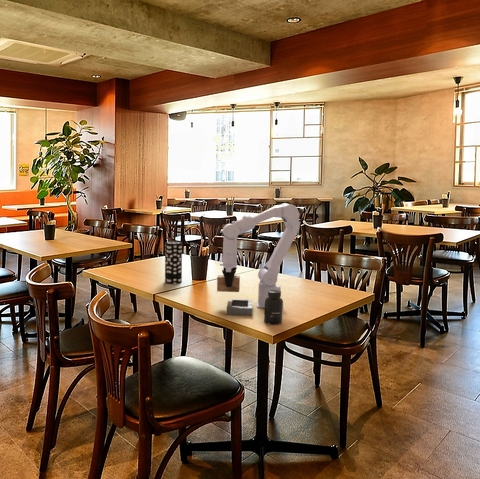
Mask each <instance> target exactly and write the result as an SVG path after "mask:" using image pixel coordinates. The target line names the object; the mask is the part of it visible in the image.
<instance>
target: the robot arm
mask: <svg viewBox="0 0 480 479" xmlns="http://www.w3.org/2000/svg"><path fill="white" fill-rule="evenodd" d="M300 215H301V214H300V212H299V210H298V208H297V206H296V205H294V204H289V203H288V202H284V203H281V204H277V205H275V206H272V207H270V208H268V209H266V210H264V211H262V212H260V213H258V214H256V215H253V216H250V215H243V216H242V218H240V219H237V220H236V221H235V220H233V221H231V223H227V224H225V225H224V226H223V228H222V229H221V230H222V235H223V242H222V262H221V263H219V266H222V267H223V268H222V270H221V272H222V275H224V278H225V283H226V287H232V282H233V277H234V276H236V275H235V274H236V272H237V269H238V267H237V266H238V262H237V261H238V241H237V240H238V236H239V235H242V234H245V233H247V232H249V231H251V230H253V229H255V227H256V225H257V224H260V223H262V222H264V221H267V220H269V219H271V218H279V219H282V221H283V223H284V224H283V225H284V226H285V229H284V230H283V233H282V234H281V236H280V238H279V240H278V243H277V244H276V246H275V248H274V250H273V252H272V254H271V256H270V257H269V260H268V261H266V262H265V264H264V266H263V267H261V268H260V269H259V270H258V273H257V276H258V279H259V282H258V290H257V292H258V294H257V295H258V296H257V299H258V300H257V302H256V307H257V308H263V309H265V299H266V298H267V297H268V291H269V290H279V291H281V292H282V290H281V285H277V281H278V276H279V273H280V266H281V265H282V262H283V260H284V259H285V257H286V256H287V253H288V251H289V250H290V248H291V245H292V244H293V242H294V240H295V238H296V236H297V234H298V232H299V230H300Z"/></svg>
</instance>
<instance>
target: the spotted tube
mask: <svg viewBox="0 0 480 479" xmlns="http://www.w3.org/2000/svg"><path fill="white" fill-rule="evenodd" d="M164 243H165V244H164V283H165V284H168V285H177V284H181V283H182V278H183V242H181V241H166V242H164Z"/></svg>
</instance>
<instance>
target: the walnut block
mask: <svg viewBox="0 0 480 479" xmlns="http://www.w3.org/2000/svg"><path fill="white" fill-rule="evenodd" d="M240 281H241V279H240V275H234V277H233V282H232V287H226V283H225V278H224V275H223V274H218V275H217V278H216V284H217V285H216V287H217V288H216V289H217V290H216V292H217V293H218V292H222V293H225V292H226V293H227V292H228V293H240V289H241V288H240V285H241V282H240Z"/></svg>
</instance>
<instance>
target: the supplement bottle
mask: <svg viewBox="0 0 480 479" xmlns="http://www.w3.org/2000/svg"><path fill="white" fill-rule="evenodd" d="M283 307H284V299H283V298H282V290H281V291H279V290H269V291H268V297H267V298H266V299H265V308H264V310H263V312H264V313H263V314H264V315H263V321H264V323H265V324H268V325H274V326H276V325H281V324H282V322H283V313H284V312H283V311H284V310H283V309H284V308H283Z"/></svg>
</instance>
